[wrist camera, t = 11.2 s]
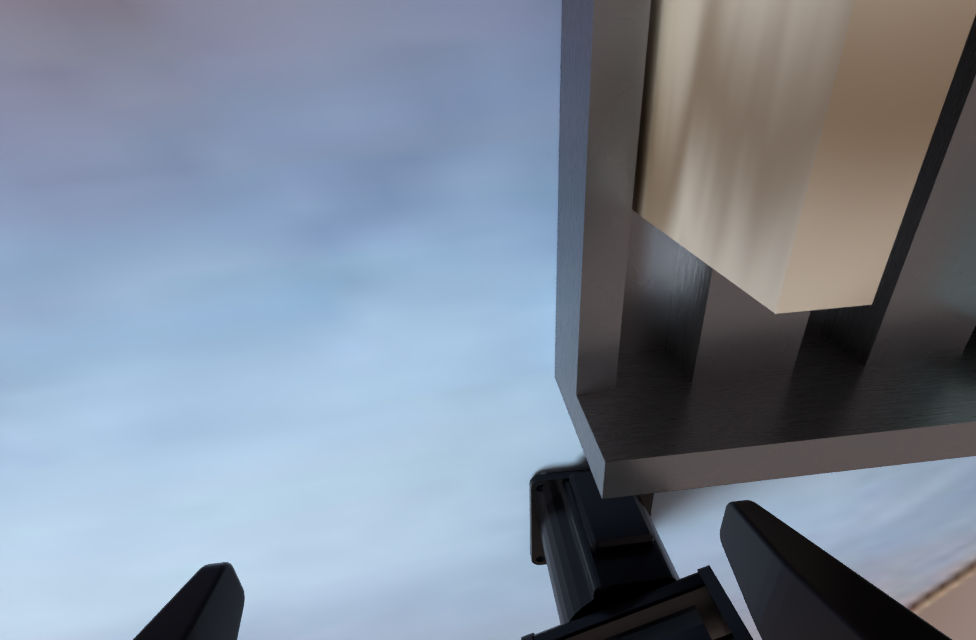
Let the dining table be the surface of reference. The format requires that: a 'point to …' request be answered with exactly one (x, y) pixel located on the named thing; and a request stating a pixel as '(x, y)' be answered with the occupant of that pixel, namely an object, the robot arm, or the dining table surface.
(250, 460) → the dining table surface
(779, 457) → the rack
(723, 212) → the birch panel
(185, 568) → the dining table surface
